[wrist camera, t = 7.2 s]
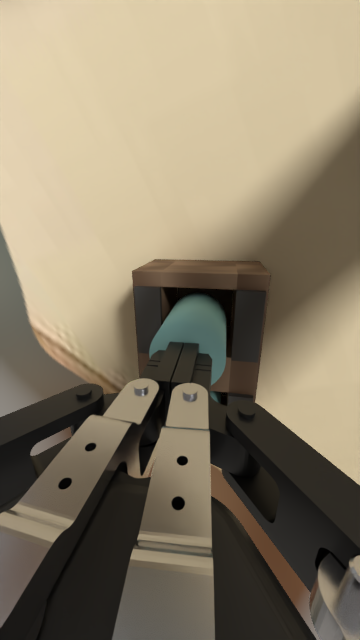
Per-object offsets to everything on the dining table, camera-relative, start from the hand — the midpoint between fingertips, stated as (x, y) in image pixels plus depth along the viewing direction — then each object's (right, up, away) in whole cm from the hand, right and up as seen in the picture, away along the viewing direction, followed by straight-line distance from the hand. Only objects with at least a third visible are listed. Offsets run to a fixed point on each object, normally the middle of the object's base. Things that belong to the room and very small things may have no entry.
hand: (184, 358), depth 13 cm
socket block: (+2, 0, +12) cm, 12 cm away
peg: (+1, +2, +6) cm, 6 cm away
